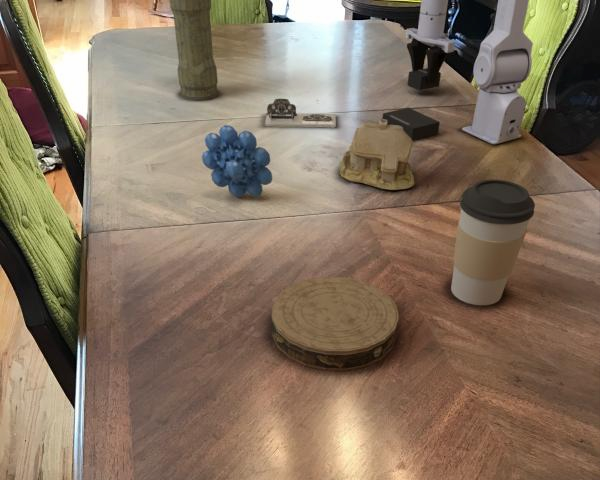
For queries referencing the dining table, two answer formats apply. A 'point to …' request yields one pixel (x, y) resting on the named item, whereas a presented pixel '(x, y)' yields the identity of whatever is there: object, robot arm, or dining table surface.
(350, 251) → the dining table surface
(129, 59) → the dining table surface
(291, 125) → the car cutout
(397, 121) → the base pad
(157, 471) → the dining table surface
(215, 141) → the blue knobbed flower
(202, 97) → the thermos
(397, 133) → the ceramic model
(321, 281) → the wood slice
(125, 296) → the dining table surface
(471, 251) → the coffee cup
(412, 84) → the black rectangular block
